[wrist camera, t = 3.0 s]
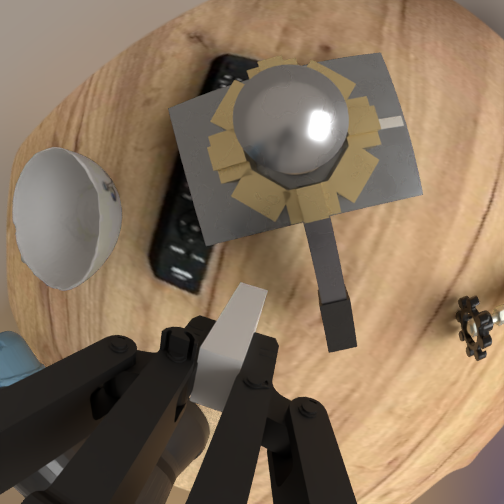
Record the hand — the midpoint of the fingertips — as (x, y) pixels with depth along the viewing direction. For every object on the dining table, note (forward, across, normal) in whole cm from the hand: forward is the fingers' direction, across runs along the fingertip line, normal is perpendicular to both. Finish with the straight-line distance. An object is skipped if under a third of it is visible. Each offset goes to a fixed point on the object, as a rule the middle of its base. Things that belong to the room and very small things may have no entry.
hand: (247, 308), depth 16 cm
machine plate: (+11, 0, +10) cm, 15 cm away
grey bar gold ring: (+8, +2, +5) cm, 10 cm away
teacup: (+11, -20, -1) cm, 23 cm away
